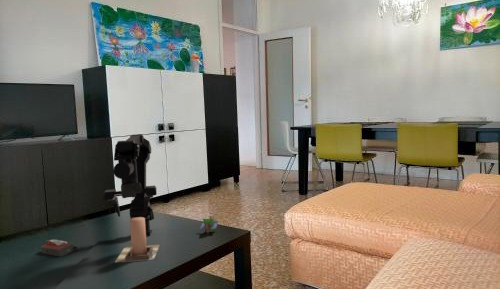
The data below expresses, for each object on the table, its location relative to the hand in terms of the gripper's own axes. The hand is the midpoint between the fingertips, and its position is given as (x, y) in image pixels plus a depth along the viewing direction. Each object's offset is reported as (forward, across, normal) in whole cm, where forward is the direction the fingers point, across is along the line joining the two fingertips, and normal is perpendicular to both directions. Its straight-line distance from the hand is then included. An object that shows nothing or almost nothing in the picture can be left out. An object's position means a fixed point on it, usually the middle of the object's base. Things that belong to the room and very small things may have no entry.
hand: (132, 215), depth 140 cm
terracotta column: (+12, +2, -11) cm, 17 cm away
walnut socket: (+12, +2, -11) cm, 17 cm away
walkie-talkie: (+14, -30, +11) cm, 35 cm away
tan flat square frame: (+13, +2, -8) cm, 16 cm away
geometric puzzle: (+13, +29, +8) cm, 33 cm away
